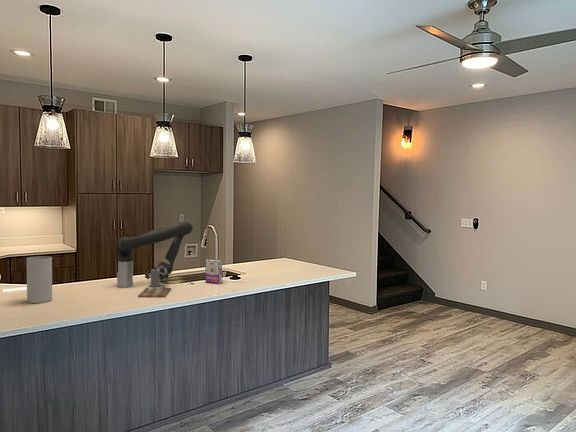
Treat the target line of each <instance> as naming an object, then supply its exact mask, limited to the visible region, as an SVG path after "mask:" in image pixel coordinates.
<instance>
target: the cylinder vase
mask: <svg viewBox="0 0 576 432" xmlns="http://www.w3.org/2000/svg"><path fill="white" fill-rule="evenodd" d="M52 300H53V257H52V256H48V255H45V256H44V255H41V256H40V255H39V256H29V257H27V258H26V301H27V303H29V304H44V303H48V302H51V301H52Z"/></svg>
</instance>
